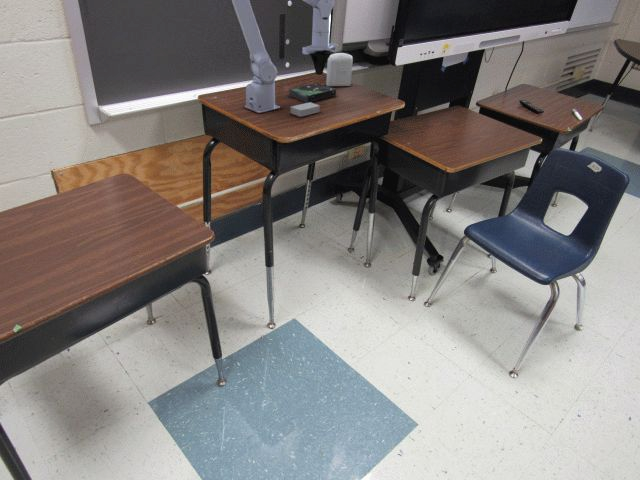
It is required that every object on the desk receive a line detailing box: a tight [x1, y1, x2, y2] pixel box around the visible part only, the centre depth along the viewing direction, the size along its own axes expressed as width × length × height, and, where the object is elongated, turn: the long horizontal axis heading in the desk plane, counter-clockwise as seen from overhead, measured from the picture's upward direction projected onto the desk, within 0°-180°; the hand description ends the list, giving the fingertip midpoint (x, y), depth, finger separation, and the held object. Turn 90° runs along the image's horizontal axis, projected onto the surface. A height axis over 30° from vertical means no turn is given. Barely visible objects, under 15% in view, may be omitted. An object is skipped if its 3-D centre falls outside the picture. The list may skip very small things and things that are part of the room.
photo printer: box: [325, 52, 354, 87], centre depth 179 cm, size 10×4×12 cm, turn 109°
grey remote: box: [290, 102, 321, 118], centre depth 151 cm, size 2×5×9 cm
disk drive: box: [288, 83, 337, 103], centre depth 167 cm, size 10×3×15 cm
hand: (319, 74), depth 156 cm, fingers closed
